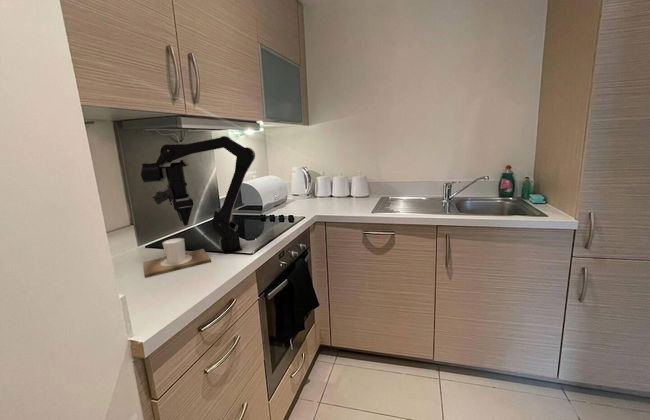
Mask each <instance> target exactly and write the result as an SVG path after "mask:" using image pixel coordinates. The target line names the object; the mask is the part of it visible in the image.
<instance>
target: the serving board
mask: <svg viewBox="0 0 650 420" xmlns="http://www.w3.org/2000/svg"><path fill="white" fill-rule="evenodd" d="M185 255H186V259H185V260H184V261H181V262H178V263H169V262H168V260H167V257H166V256H165V257H159V258H156V259H150V260H146V261H143V263H142V265H143V272H144V274H143V275H144V278H146V279H147V278H151V277H154V276H159V275H163V274H166V273H167V274H168V273H170V272H175V271H179V270H184V269H187V268H191V267H196V266H200V265H203V264H208V263H211V262H212V259H211V257H210V256H209V254H208V253H207V252H206V250H205V249H204V248H201V249H196V250H192V251H187V252H186V251H185Z"/></svg>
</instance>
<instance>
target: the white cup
mask: <svg viewBox="0 0 650 420" xmlns="http://www.w3.org/2000/svg"><path fill="white" fill-rule="evenodd" d="M161 244H162V247H163V250H164V253H165V257H167V260H168V262H169V263H178V262H181V261H184V260H185V259H186V255H185V253H186V245H185V238H184V237H176V238H170V239H167V240H164V241H163V242H162V243H161Z"/></svg>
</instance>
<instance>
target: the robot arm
mask: <svg viewBox="0 0 650 420" xmlns="http://www.w3.org/2000/svg"><path fill="white" fill-rule="evenodd" d="M220 149H225V150H226V151H228V153H230V154H232V155H233V156H235V157H236V159H235V167H234V173H233V176H232V178H231V181H230V184H229V185H228V186H229V187H228V189H227V192H226V195H225V198H224V201H223V204H222V206H221V208H219V207H217V208H216V209H215V210H214V214H213V218H212V219H211V220H210V222H212V224H211V227H212V228H213V231H215V232H217V234H218V235H219V239H218V242H219V248H220V251H221V252H223V254H229V253H233V252H234V253H235V252H237V251H242V250H243V247H241V240H240V233H239V232H238V228H239V225H238V224H237V223H236V222H234V221H233V216H234V215H233V213H234V207H235V204H236V201H237V199H238V195H239V193H240V190H241V188H242V185H243V183H244V180H245V177H246V174H247V172H248V171H249V169H250V168H251V166H252V164H253V162H254V161H255V159H256V152H255V151H254V149H253V148H251V147H248V146H247V147H245V146H243V145H241V144H240V143H238V142H237V141H235V140H233V139H232V138H230V136H227V135H223V136H220V137H217V138H211V139H205V140H201V141H195V142H191V143H166V144H163V145H162V146H161V148H160V153H159V154H160V155H159V156H158V158H157V160H156V161H155V162H144V163H142V164H141V165H142V167H141V172H140V177H141V179H142V181H143V183H145V184H147V183H158V182H160V183H161V182H164V181H165V179H167V184H166V188H165V189H162V190H158V191H155V193H154V194H152V195H151V197H152V199H153V201H154V202H155V204H156V205H157V206H158V205H161V204H162V203H163V202H165V201H168V203H169V204H170V206H172V209H173V210H175V211H176V213H177V216H178V218H179V220H180V222H182V223H183V226H185V227H186V226H188V224H189V220H190V217H191V213H192V210H193V207H194V200H193V198H191V197H190V194H189V193H188V188H187V186H188V183H187V181H186V176H185V170H184V168H185V167H189V166H190V164H189V163H188V162H186V160H184V158H186V157H188V156H191V155H193V154H198V153H203V152H208V151H214V150H220ZM178 160H180V161H179V162H178ZM173 161H174V162H173ZM175 161H177V162H175ZM169 164H170V165H169ZM165 165H166V166H165Z"/></svg>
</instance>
